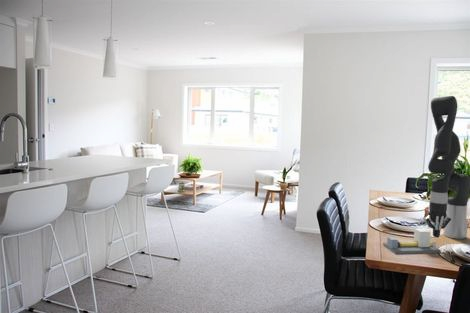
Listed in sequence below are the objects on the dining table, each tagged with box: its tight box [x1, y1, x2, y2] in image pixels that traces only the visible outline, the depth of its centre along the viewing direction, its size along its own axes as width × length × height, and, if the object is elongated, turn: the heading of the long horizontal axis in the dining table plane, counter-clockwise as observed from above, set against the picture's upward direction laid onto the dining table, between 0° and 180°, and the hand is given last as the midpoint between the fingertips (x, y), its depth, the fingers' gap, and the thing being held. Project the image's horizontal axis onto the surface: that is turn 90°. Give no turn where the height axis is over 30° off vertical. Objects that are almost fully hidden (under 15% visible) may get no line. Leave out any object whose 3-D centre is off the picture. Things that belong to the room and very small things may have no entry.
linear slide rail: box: [382, 236, 442, 255], centre depth 193 cm, size 22×12×5 cm, turn 96°
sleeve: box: [413, 228, 432, 247], centre depth 193 cm, size 5×5×7 cm
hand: (436, 236), depth 194 cm, fingers closed
